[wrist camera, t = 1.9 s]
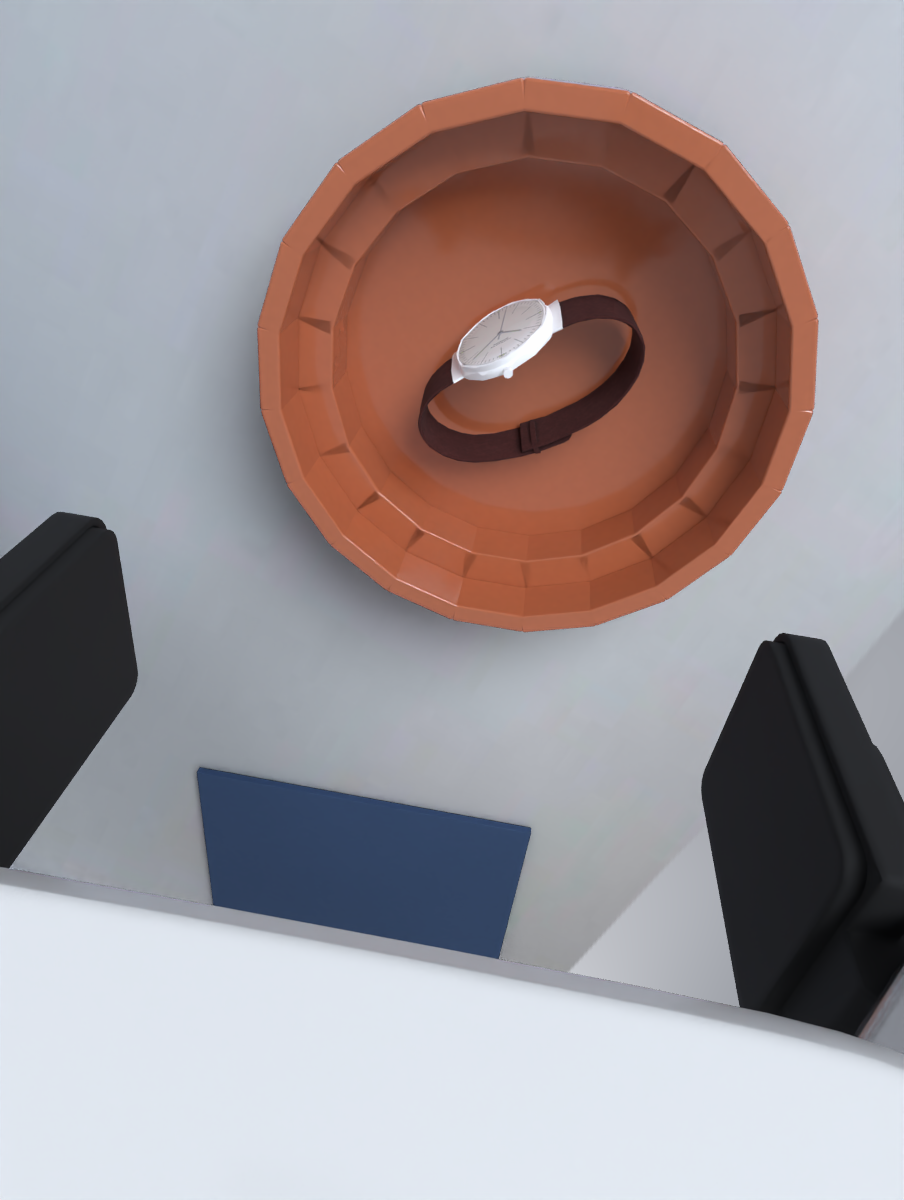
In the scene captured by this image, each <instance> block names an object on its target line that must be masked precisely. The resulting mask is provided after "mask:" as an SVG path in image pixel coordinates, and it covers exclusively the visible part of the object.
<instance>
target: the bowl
mask: <svg viewBox="0 0 904 1200" xmlns="http://www.w3.org/2000/svg"><path fill="white" fill-rule="evenodd" d="M596 294H599V295H604V296H609V297H613V298H616V299H617V300H619V301H620V302H622V303H623V304H625V305H626V306H627V307H628V309H629V310H630V311H631V313H632V315H633V317H634V320H635V322H636V324H637V326H638V328H639V330H640V332H641V334H642V336H643V340H644V344H645V358H644V363H643V366H642V369H641V372H640V374H639V377H638V378H637V380H636V381H635V383H634V385H633V386H632V388H631V389H630V391H629V392H628V393H627V394H626V396H625V397H624V398H623V399H622V400H621V401H620V402H619V403H618V405H617V406H616V407H614V408H613V409H612V410H610V411H609V412H608V413H607V414H605V415H604V416H603V417H602V418H600V419H599V420H597V421H596V422H594V423H593V424H591V425H589V426H588V427H586V428H584V429H581V430H579V431H577V432H575V433H573V434H572V436H571V438H570V439H569V440H568V441H566V442H565V443H562V444H559V445H557V446H554V447H551V448H548V449H546V450H543V451H541V453H538V454H535V453H533V454H530V455H526V456H522V457H517V458H511V459H505V460H500V461H492V462H478V463H472V462H463V461H457V460H454V459H451V458H448V457H445V456H443V455H441V454H439V453H438V452H436V451H434V450H433V449H431V448H430V447H429V446H428V445H427V444H426V443H425V441H424V440H423V438H422V436H421V435H420V432H419V428H418V419H419V414H420V407H421V402H422V398H423V394H424V390H425V387H426V384H427V383H428V381H429V379H430V378H431V376H432V375H433V374H434V373H435V372H436V370H437V369H438V368H440V367H441V366H442V365H443V364H444V363H445V362H446V361H448V360H449V359H451V358H452V357H453V354H454V353H455V352H457V350H458V347H459V344H460V342H461V339H462V338H463V337H464V336H465V335H466V334H467V333H468V332H469V331H470V330H471V329H472V328H473V327H474V326H475V325H476V324H477V323H478V322H479V321H480V320H482V319H483V318H484V317H485V316H487V315H488V314H490V313H491V312H493V311H495V310H497V309H499V308H501V307H503V306H505V305H507V304H509V303H511V302H515V301H519V300H524V299H541V300H542V301H543V302H544V303H545V305H547V306H548V305H550V304H551V303H553V302H554V301H556V300H558V302H561V301H564V300H567V299H570V298H573V297H578V296H586V295H596ZM817 317H818V314H817V311H816V307H815V304H814V301H813V298H812V295H811V291H810V288H809V285H808V282H807V279H806V275H805V272H804V269H803V266H802V263H801V260H800V256H799V253H798V250H797V247H796V244H795V240H794V237H793V234H792V231H791V228H790V226H789V225H788V222H787V220H786V219H785V218H784V217H783V215H782V214H781V213H780V212H779V210H778V209H777V208H776V207H775V205H774V204H773V203H772V202H771V200H770V199H769V198H768V197H767V195H766V194H765V193H764V192H763V190H762V189H761V188H760V187H759V185H758V184H757V183H756V182H755V180H754V179H753V178H752V177H751V175H750V174H749V173H748V172H747V170H746V169H745V168H744V167H743V165H742V164H741V163H740V162H739V160H738V159H737V158H736V157H735V155H734V154H733V153H732V152H731V150H730V149H729V148H728V147H727V145H725V144H723V143H722V142H721V141H720V140H718V139H716V138H714V137H713V136H711V135H709V134H707V133H705V132H704V131H702V130H700V129H698V128H697V127H695V126H693V125H691V124H689V123H688V122H686V121H684V120H682V119H681V118H679V117H677V116H675V115H673V114H672V113H670V112H668V111H666V110H665V109H663V108H661V107H659V106H657V105H656V104H654V103H652V102H650V101H649V100H647V99H645V98H643V97H641V96H640V95H638V94H636V93H634V92H632V91H629V90H625V89H623V88H618V87H610V86H602V85H595V84H587V83H579V82H572V81H564V80H556V79H549V78H541V77H523V78H517V79H513V80H509V81H505V82H501V83H497V84H493V85H489V86H485V87H481V88H477V89H473V90H469V91H465V92H461V93H457V94H453V95H449V96H445V97H441V98H437V99H433V100H430V101H426V102H423V103H422V104H418V105H417V106H415V107H414V108H412V109H411V110H409V111H408V112H406V113H405V114H404V115H402V116H401V117H399V118H398V119H396V120H395V121H394V122H392V123H391V124H389V125H388V126H386V127H385V128H384V129H382V130H381V131H379V132H378V133H376V134H375V135H374V136H372V137H371V138H369V139H368V140H366V141H365V142H364V143H362V144H361V145H359V146H358V147H356V148H355V149H354V150H352V151H351V152H349V153H348V154H346V155H345V156H344V157H342V158H341V159H339V160H338V162H337V163H335V164H334V166H333V167H332V169H331V170H330V171H329V173H328V174H327V176H326V177H325V179H324V180H323V181H322V183H321V184H320V186H319V187H318V189H317V190H316V191H315V193H314V194H313V196H312V197H311V199H310V200H309V201H308V203H307V204H306V206H305V207H304V209H303V210H302V211H301V213H300V214H299V216H298V217H297V219H296V220H295V221H294V223H293V224H292V226H291V227H290V229H289V230H288V231H287V233H286V234H285V236H284V237H283V240H282V242H281V244H280V247H279V251H278V254H277V258H276V261H275V265H274V268H273V272H272V275H271V279H270V282H269V286H268V289H267V293H266V296H265V300H264V303H263V307H262V310H261V314H260V317H259V321H258V328H257V335H258V360H259V386H260V408H261V409H262V410H261V413H262V416H263V419H264V421H265V424H266V427H267V430H268V433H269V436H270V438H271V441H272V444H273V447H274V450H275V453H276V455H277V458H278V461H279V464H280V467H281V470H282V472H283V475H284V478H285V481H286V483H287V486H288V487H289V489H290V490H291V491H292V493H293V494H294V496H295V497H296V498H297V500H298V501H299V503H300V504H301V505H302V507H303V508H304V510H305V511H306V512H307V514H308V515H309V517H310V518H311V519H312V521H313V522H314V524H315V525H316V526H317V528H318V529H319V531H320V532H321V533H322V535H323V536H324V538H325V539H326V540H327V542H328V543H329V544H331V546H332V547H333V548H334V549H336V550H337V551H338V552H339V553H341V554H342V555H343V556H344V557H345V558H347V559H348V560H349V561H350V562H352V563H353V564H354V565H355V566H357V567H358V568H359V569H360V570H362V571H363V572H364V573H365V574H366V575H368V576H369V577H370V578H371V579H373V580H374V581H375V582H376V583H378V584H379V585H380V586H381V587H383V588H384V589H385V590H387V589H388V591H389V592H391V593H393V594H395V595H397V596H400V597H402V598H404V599H406V600H409V601H411V602H413V603H415V604H418V605H420V606H422V607H424V608H426V609H429V610H431V611H433V612H435V613H438V614H440V615H442V616H444V617H447V618H449V619H452V618H453V620H455V621H461V622H467V623H473V624H479V625H485V626H491V627H497V628H503V629H509V630H515V631H523V632H532V631H544V630H555V629H567V628H579V627H591V626H595V625H599V624H602V623H605V622H607V621H610V620H613V619H616V618H619V617H622V616H624V615H627V614H630V613H633V612H636V611H638V610H641V609H644V608H647V607H650V606H652V605H655V604H658V603H661V602H664V601H665V599H666V600H668V599H669V598H671V597H672V596H673V595H675V594H676V593H678V592H679V591H681V590H682V589H684V588H685V587H686V586H688V585H689V584H691V583H692V582H694V581H695V580H696V579H698V578H699V577H701V576H702V575H704V574H705V573H706V572H708V571H709V570H711V569H712V568H714V567H715V566H717V565H718V564H719V563H721V562H722V561H724V560H725V559H727V558H728V557H729V556H730V555H732V554H733V552H734V551H735V550H736V549H737V547H738V546H739V545H740V544H741V542H742V541H743V540H744V539H745V538H746V536H747V535H748V534H749V533H750V531H751V530H752V529H753V528H754V526H755V525H756V524H757V523H758V521H759V520H760V519H761V518H762V516H763V515H764V514H765V513H766V512H767V510H768V509H769V508H770V507H771V505H772V504H773V503H774V502H775V500H776V499H777V498H778V497H779V495H780V494H781V493H782V490H783V488H784V485H785V483H786V480H787V478H788V475H789V473H790V470H791V468H792V465H793V463H794V460H795V458H796V455H797V452H798V450H799V447H800V445H801V442H802V440H803V437H804V435H805V432H806V430H807V427H808V425H809V422H810V419H811V417H812V414H813V409H814V405H815V384H816V363H817V342H818V322H819V321H818V319H817ZM631 338H632V328H631V327H630V326H628V325H627V324H626V323H623V322H621V321H618V320H613V319H592V320H587V321H582V322H578V323H575V324H572V325H570V326H567V327H565V328H563V329H562V330H560V331H557V332H555V333H553V334H552V336H551V339H550V340H549V341H548V342H547V343H546V344H545V345H544V346H543V347H542V348H541V349H540V351H539V352H538V353H537V354H536V355H535V356H533V357H532V358H530V359H529V360H527V361H526V362H524V363H523V364H521V365H520V366H518V367H517V368H515V369H514V370H513V376H512V377H511V378H505V377H504V375H501V376H498V377H495V378H491V379H488V380H484V381H481V380H468V379H466V378H463V379H461V380H459V381H458V382H456V383H454V384H452V385H450V386H449V387H447V388H445V389H444V390H442V391H441V392H440V393H439V394H438V395H436V396H435V397H434V398H433V399H432V400H431V401H430V402H429V404H428V409H429V411H430V413H431V414H432V415H433V417H434V418H435V419H436V420H437V421H438V422H439V423H441V424H443V425H444V426H446V427H447V428H449V429H452V430H455V431H458V432H461V433H467V434H473V435H478V434H490V433H497V432H501V431H506V430H510V429H515V428H519V427H520V423H523V422H527V421H530V420H533V419H536V418H540V417H545V416H547V415H549V414H551V413H553V412H556V411H558V410H560V409H562V408H564V407H566V406H568V405H570V404H573V403H575V402H577V401H579V400H580V399H582V398H584V397H585V396H587V395H588V394H590V393H591V392H593V391H594V390H595V389H597V388H598V387H599V386H601V385H602V384H603V383H604V382H605V381H606V380H607V379H608V378H609V377H610V376H611V375H612V374H613V373H614V372H615V371H616V369H617V368H618V366H619V365H620V364H621V362H622V361H623V360H624V358H625V356H626V354H627V351H628V349H629V347H630V343H631Z"/></svg>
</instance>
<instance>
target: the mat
mask: <svg viewBox="0 0 904 1200" xmlns="http://www.w3.org/2000/svg"><path fill="white" fill-rule="evenodd" d="M197 778H198V786H199V794H200V802H201V810H202V818H203V826H204V834H205V842H206V850H207V858H208V866H209V874H210V882H211V890H212V898H213V906H219V907H224V908H230V909H235V910H240V911H246V912H251V913H256V914H262V915H267V916H273V917H278V918H283V919H289V920H294V921H299V922H305V923H310V924H316V925H321V926H326V927H332V928H337V929H342V930H347V931H353V932H358V933H363V934H369V935H374V936H379V937H385V938H390V939H395V940H401V941H406V942H411V943H417V944H422V945H427V946H433V947H438V948H443V949H448V950H454V951H459V952H464V953H469V954H474V955H480V956H485V957H490V958H495V959H499V955H500V951H501V947H502V943H503V939H504V935H505V932H506V928H507V924H508V920H509V916H510V912H511V908H512V904H513V900H514V897H515V893H516V889H517V885H518V881H519V877H520V873H521V869H522V866H523V862H524V858H525V854H526V850H527V846H528V842H529V838H530V835H531V828H529V827H524V826H518V825H513V824H507V823H502V822H496V821H491V820H485V819H480V818H475V817H469V816H464V815H458V814H453V813H447V812H442V811H436V810H431V809H425V808H420V807H414V806H409V805H403V804H398V803H392V802H387V801H381V800H376V799H370V798H365V797H359V796H354V795H348V794H343V793H338V792H332V791H327V790H321V789H316V788H310V787H305V786H299V785H294V784H288V783H283V782H277V781H272V780H266V779H261V778H255V777H250V776H244V775H239V774H233V773H228V772H222V771H217V770H212V769H206V768H201V767H200V768H199V769H198V771H197Z"/></svg>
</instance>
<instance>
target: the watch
mask: <svg viewBox="0 0 904 1200" xmlns="http://www.w3.org/2000/svg"><path fill="white" fill-rule="evenodd" d="M592 319H613V320H618V321H621V322H623V323H626V324H627V325H628V326H630V327H631V328H632V338H631V343H630V347H629V349H628V351H627V354H626V356H625V358H624V360H623V361H622V362H621V364H620V365H619V366H618V368H617V369H616V371H615V372H614V373H613V374H612V375H611V376H610V377H609V378H608V379H607V380H606V381H605V382H604V383H603V384H602V385H601V386H599V387H598V388H597V389H595V390H594V391H593V392H591V393H590V394H588V395H587V396H585V397H584V398H582V399H580V400H579V401H577V402H575V403H573V404H570V405H568V406H566V407H564V408H562V409H560V410H558V411H556V412H553V413H551V414H549V415H547V416H545V417H540V418H536V419H533V420H530V421H527V422H523V423H520V427H519V428H515V429H510V430H506V431H501V432H497V433H490V434H478V435H473V434H467V433H461V432H458V431H455V430H452V429H449V428H447V427H446V426H444V425H443V424H441V423H439V422H438V421H437V420H436V419H435V418H434V417H433V415H432V414H431V413H430V411H429V409H428V404H429V402H430V401H431V400H432V399H433V398H434V397H435V396H436V395H438V394H439V393H440V392H441V391H442V390H444V389H445V388H447V387H449V386H450V385H452V384H454V383H456V382H458V381H459V380H461V379H463V378H466V379H468V380H481V381H484V380H488V379H491V378H495V377H498V376H501V375H504V377H505V378H511V377H512V376H513V370H514V369H515V368H517V367H518V366H520V365H521V364H523V363H524V362H526V361H527V360H529V359H530V358H532V357H533V356H535V355H536V354H537V353H538V352H539V351H540V349H541V348H542V347H543V346H544V345H545V344H546V343H547V342H548V341H549V340H550V339H551V336H552V334H553V333H555V332H557V331H560V330H562V329H563V328H565V327H567V326H570V325H572V324H575V323H578V322H582V321H587V320H592ZM644 358H645V344H644V340H643V336H642V334H641V332H640V330H639V328H638V326H637V324H636V322H635V320H634V317H633V315H632V313H631V311H630V310H629V309H628V307H627V306H626V305H625V304H623V303H622V302H620V301H619V300H617V299H616V298H613V297H609V296H604V295H599V294H596V295H586V296H578V297H573V298H570V299H567V300H564V301H561V302H558V300H556V301H554V302H553V303H551V304H550V305H548V306H547V305H545V303H544V302H543V301H542V300H541V299H524V300H519V301H515V302H511V303H509V304H507V305H505V306H503V307H501V308H499V309H497V310H495V311H493V312H491V313H490V314H488V315H487V316H485V317H484V318H483V319H482V320H480V321H479V322H478V323H477V324H476V325H475V326H474V327H473V328H472V329H471V330H470V331H469V332H468V333H467V334H466V335H465V336H464V337H463V338H462V339H461V342H460V344H459V347H458V350H457V352H455V353H454V354H453V357H452V358H451V359H449V360H448V361H446V362H445V363H444V364H443V365H442V366H441V367H440V368H438V369H437V370H436V372H435V373H434V374H433V375H432V376H431V378H430V379H429V381H428V383H427V384H426V387H425V390H424V394H423V398H422V402H421V407H420V414H419V419H418V428H419V432H420V435H421V436H422V438H423V440H424V441H425V443H426V444H427V445H428V446H429V447H430V448H431V449H433V450H434V451H436V452H438V453H439V454H441V455H443V456H445V457H448V458H451V459H454V460H457V461H463V462H472V463H478V462H492V461H500V460H505V459H511V458H517V457H522V456H526V455H530V454H533V453H535V454H538V453H541V451H543V450H546V449H548V448H551V447H554V446H557V445H559V444H562V443H565V442H566V441H568V440H569V439H570V438H571V436H572V434H573V433H575V432H577V431H579V430H581V429H584V428H586V427H588V426H589V425H591V424H593V423H594V422H596V421H597V420H599V419H600V418H602V417H603V416H604V415H605V414H607V413H608V412H609V411H610V410H612V409H613V408H614V407H616V406H617V405H618V403H619V402H620V401H621V400H622V399H623V398H624V397H625V396H626V394H627V393H628V392H629V391H630V389H631V388H632V386H633V385H634V383H635V381H636V380H637V378H638V377H639V374H640V372H641V369H642V366H643V363H644Z"/></svg>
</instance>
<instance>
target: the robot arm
mask: <svg viewBox="0 0 904 1200" xmlns="http://www.w3.org/2000/svg"><path fill="white" fill-rule="evenodd" d="M137 677H138V670H137V663H136V657H135V651H134V644H133V638H132V632H131V625H130V619H129V613H128V606H127V600H126V594H125V587H124V581H123V575H122V568H121V562H120V556H119V549H118V543H117V538H116V535H115V534H114V532H113V531H111V530H107V529H106V526H105V524H104V523H103V521H102V520H100V519H99V518H95V517H89V516H83V515H77V514H71V513H65V512H57V513H55V514H53V515H52V516H50V517H49V518H48V519H47V520H46V521H45V522H43V523H42V524H41V525H40V526H39V527H38V528H36V529H35V530H34V531H33V532H32V533H30V534H29V535H28V536H27V537H26V538H25V539H23V540H22V541H21V542H20V543H19V544H17V545H16V546H15V547H14V548H13V549H12V550H10V551H9V552H8V553H7V554H6V555H4V556H3V557H2V558H1V559H0V1200H904V802H903V800H902V797H901V795H900V793H899V791H898V789H897V787H896V784H895V782H894V780H893V778H892V775H891V773H890V771H889V769H888V767H887V765H886V762H885V760H884V758H883V756H882V754H881V753H880V751H879V750H878V748H877V747H876V746H875V745H873V743H872V742H871V739H870V737H869V734H868V732H867V730H866V728H865V725H864V723H863V721H862V719H861V717H860V714H859V712H858V710H857V708H856V706H855V703H854V701H853V699H852V697H851V695H850V692H849V690H848V688H847V686H846V683H845V681H844V679H843V677H842V674H841V672H840V670H839V668H838V666H837V663H836V661H835V659H834V657H833V654H832V652H831V650H830V648H829V646H828V644H827V643H826V641H824V640H822V639H816V638H810V637H804V636H798V635H792V634H786V633H781V634H779V635H778V636H777V637H776V638H775V640H774V641H773V642H772V641H763V643H762V644H761V645H760V647H759V648H758V651H757V653H756V655H755V657H754V660H753V662H752V664H751V666H750V669H749V671H748V673H747V675H746V678H745V680H744V682H743V684H742V687H741V689H740V691H739V694H738V696H737V698H736V700H735V703H734V705H733V707H732V709H731V712H730V714H729V716H728V718H727V721H726V723H725V725H724V728H723V730H722V732H721V734H720V737H719V739H718V741H717V743H716V746H715V748H714V750H713V752H712V755H711V757H710V759H709V761H708V764H707V766H706V768H705V771H704V774H703V778H702V786H701V793H702V801H703V806H704V812H705V817H706V823H707V828H708V833H709V839H710V845H711V850H712V856H713V861H714V867H715V872H716V878H717V884H718V889H719V894H720V900H721V906H722V911H723V917H724V922H725V928H726V933H727V938H728V944H729V950H730V955H731V961H732V966H733V972H734V977H735V983H736V989H737V994H738V1000H739V1005H740V1007H736V1006H731V1005H726V1004H722V1003H716V1002H712V1001H707V1000H702V999H698V998H693V997H688V996H683V995H679V994H674V993H669V992H664V991H659V990H654V989H650V988H645V987H640V986H635V985H630V984H625V983H620V982H614V981H609V980H604V979H599V978H593V977H588V976H583V975H578V974H573V973H568V972H563V971H557V970H552V969H547V968H542V967H537V966H531V965H526V964H521V963H516V962H511V961H505V960H500V959H495V958H490V957H485V956H480V955H474V954H469V953H464V952H459V951H454V950H448V949H443V948H438V947H433V946H427V945H422V944H417V943H411V942H406V941H401V940H395V939H390V938H385V937H379V936H374V935H369V934H363V933H358V932H353V931H347V930H342V929H337V928H332V927H326V926H321V925H316V924H310V923H305V922H299V921H294V920H289V919H283V918H278V917H273V916H267V915H262V914H256V913H251V912H246V911H240V910H235V909H230V908H224V907H219V906H213V905H208V904H203V903H197V902H192V901H186V900H181V899H175V898H170V897H164V896H159V895H153V894H148V893H142V892H137V891H131V890H126V889H120V888H115V887H109V886H104V885H98V884H93V883H87V882H82V881H76V880H71V879H65V878H60V877H54V876H49V875H43V874H37V873H32V872H26V871H21V870H15V869H10V866H11V865H12V863H13V862H14V861H15V859H16V858H17V856H18V855H19V854H20V852H21V851H22V849H23V848H24V847H25V845H26V844H27V842H28V841H29V839H30V838H31V837H32V835H33V834H34V832H35V831H36V830H37V828H38V827H39V825H40V824H41V823H42V821H43V820H44V818H45V817H46V815H47V814H48V813H49V811H50V810H51V808H52V807H53V806H54V804H55V803H56V801H57V800H58V799H59V797H60V796H61V794H62V793H63V791H64V790H65V789H66V787H67V786H68V784H69V783H70V782H71V780H72V779H73V777H74V776H75V775H76V773H77V772H78V770H79V769H80V768H81V766H82V765H83V763H84V762H85V760H86V759H87V758H88V756H89V755H90V753H91V752H92V751H93V749H94V748H95V746H96V745H97V744H98V742H99V741H100V739H101V738H102V736H103V735H104V734H105V732H106V731H107V729H108V728H109V727H110V725H111V724H112V722H113V721H114V720H115V718H116V717H117V715H118V714H119V712H120V711H121V710H122V708H123V707H124V705H125V704H126V703H127V701H128V700H129V698H130V697H131V695H132V694H133V692H134V689H135V687H136V683H137Z"/></svg>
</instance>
